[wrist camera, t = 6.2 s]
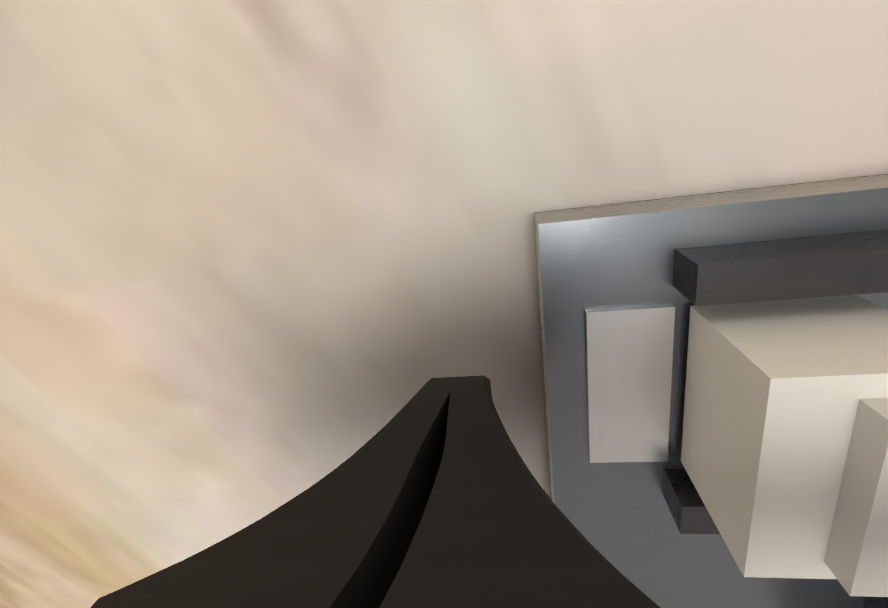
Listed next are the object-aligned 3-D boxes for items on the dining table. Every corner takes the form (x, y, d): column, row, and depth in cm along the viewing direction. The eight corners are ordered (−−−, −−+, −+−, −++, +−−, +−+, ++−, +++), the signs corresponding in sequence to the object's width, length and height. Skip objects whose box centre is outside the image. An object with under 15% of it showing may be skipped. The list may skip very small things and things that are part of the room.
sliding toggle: (821, 458, 10) (979, 618, 7) (680, 460, 11) (762, 610, 7) (853, 293, 9) (1069, 391, 5) (690, 305, 9) (796, 401, 6)
